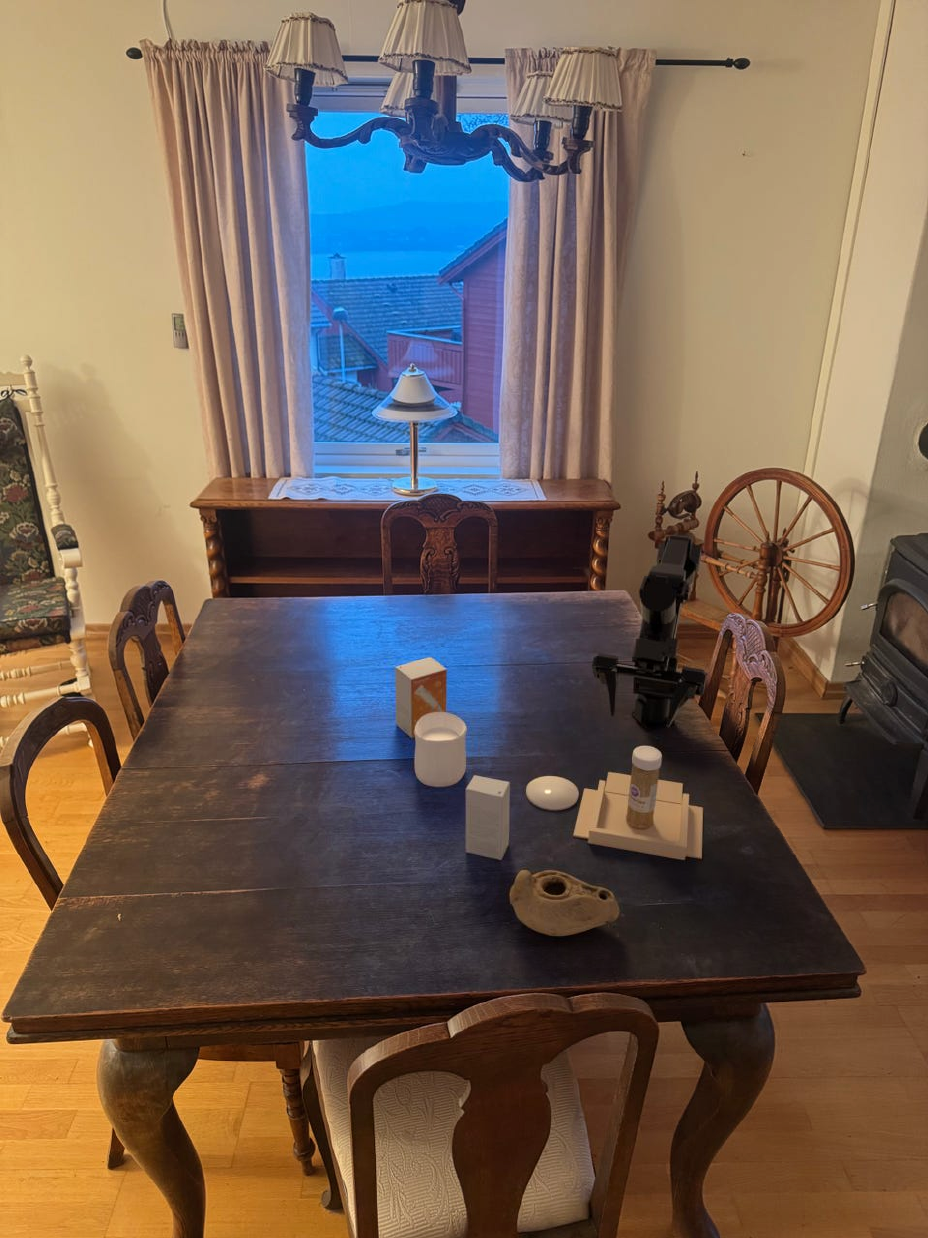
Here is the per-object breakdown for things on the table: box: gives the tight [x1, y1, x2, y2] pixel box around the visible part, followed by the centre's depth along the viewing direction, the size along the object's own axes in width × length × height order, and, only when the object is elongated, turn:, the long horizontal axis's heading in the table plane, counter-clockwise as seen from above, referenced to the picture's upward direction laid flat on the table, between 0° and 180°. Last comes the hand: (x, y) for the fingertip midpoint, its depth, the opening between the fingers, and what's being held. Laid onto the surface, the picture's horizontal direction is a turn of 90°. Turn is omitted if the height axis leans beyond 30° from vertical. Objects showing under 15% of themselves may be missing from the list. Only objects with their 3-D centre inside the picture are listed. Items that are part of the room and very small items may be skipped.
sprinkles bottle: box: [626, 745, 663, 829], centre depth 136 cm, size 5×5×14 cm
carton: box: [573, 771, 704, 861], centre depth 141 cm, size 20×20×2 cm
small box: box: [394, 656, 448, 739], centre depth 163 cm, size 8×6×13 cm
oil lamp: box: [509, 869, 620, 937], centre depth 118 cm, size 11×15×8 cm
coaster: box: [525, 775, 580, 811], centre depth 146 cm, size 9×9×1 cm
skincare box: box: [465, 774, 511, 861], centre depth 131 cm, size 6×4×12 cm
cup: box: [414, 711, 468, 788], centre depth 150 cm, size 10×10×10 cm
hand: (639, 721), depth 141 cm, fingers open, 9 cm apart
